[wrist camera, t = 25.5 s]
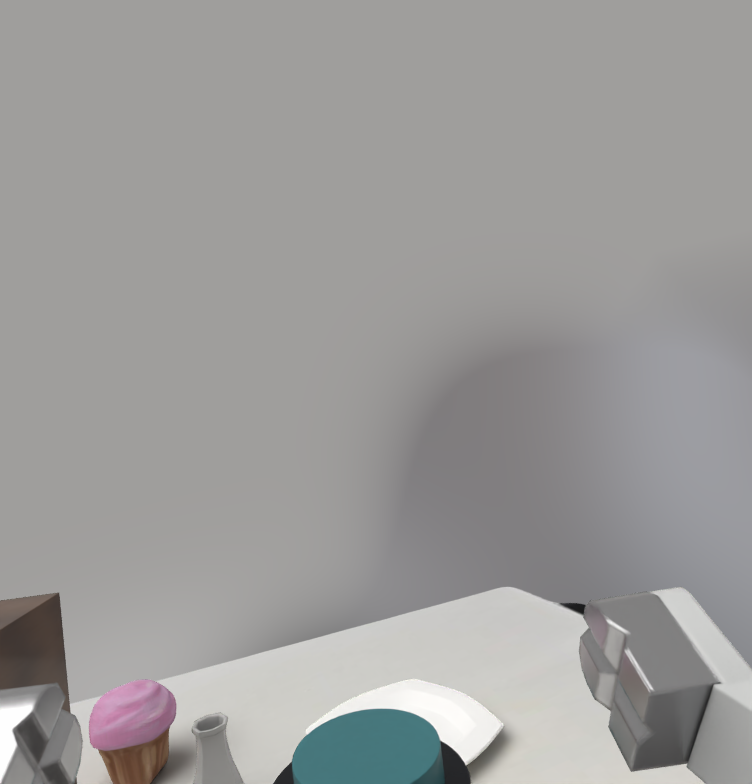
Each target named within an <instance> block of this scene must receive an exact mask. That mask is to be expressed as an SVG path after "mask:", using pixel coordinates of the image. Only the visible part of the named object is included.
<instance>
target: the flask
mask: <svg viewBox="0 0 752 784" xmlns="http://www.w3.org/2000/svg"><path fill="white" fill-rule="evenodd" d="M227 721H228V717H227V716H226V715H224V714H222V713H215V714H210V715H206V716H204V717H202V718H200V719H198V720H196V721H194V724H193V726H192V733H193V734H194V735H195V736H196V742H197V761H196V773H195V778H194V783H193V784H244V782H243V780H242V778H241V776H240V773H239V771H238V769H237V767H236V765H235V763H234V761H233V759H232V756H231V753H230V749H229V746H228V742H227V738H226V730H225V729H226V725H227Z"/></svg>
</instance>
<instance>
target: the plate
mask: <svg viewBox="0 0 752 784" xmlns="http://www.w3.org/2000/svg"><path fill="white" fill-rule="evenodd" d="M367 709H397V710H402V711H406V712H410V713H413V714H416V715H418V716H420V717H422V718H424V719H425V720H427V721H428V722H429V723H430V724H431V725H432V726H433V727H434V728H435V729H436V731H437V733H438V735H439V738H440V740H441V741H442V742H444V743H446V744H447V745H448V746H450V747H451V748H453V749H454V750H455V751H456V752H457V753H458V754H459V756H460V757H461V758H462V760H463V761H464V763H465V765H468V764H469V763H471V762H472V761H473V760H475V759H476V758H477V757H478V756H479V755H480V754H481V753H482V752H483V751H484V750H485V749H486V748H487V747H488V746H489V745H490V743H491V742H492V741H493V740H494V739H495V738H496V736H497V735H498V734H499V732H500V731H501V730H502V729H503V727H504V724H503V723H502V722H501V721H499V720H498V719H497V718H496V717H495V716H494V715H493V714H492V713H491V712H490V711H488V710H487V709H486V708H485V707H484V706H482V705H481V704H480V703H478V702H477V701H476V700H474V699H473V698H471V697H469V696H468V695H466V694H464V693H462V692H459V691H457V690H454V689H451V688H448V687H445V686H441V685H438V684H434V683H430V682H426V681H421V680H417V679H408V680H404V681H401V682H397V683H393V684H390V685H386V686H383V687H380V688H377V689H374V690H371V691H368V692H365V693H363V694H360V695H358V696H355V697H353V698H351V699H349V700H348V701H346V702H344V703H342V704H340V705H339V706H337V707H336V708H334V709H333V710H331V711H329V712H328V713H327V714H325V715H324V716H323V717H321V718H320V719H318V720H317V721H316V722H314V723H313V724H312V725H311V726H309V727H308V728H307V729H306V730H305V731H306V734H307V735H308V734H309V733H310V732H311V731H312V730H314V729H315V728H316V727H318V726H320V725H321V724H323V723H325V722H327V721H329V720H331V719H333V718H336V717H338V716H341V715H344V714H347V713H351V712H355V711H360V710H367Z"/></svg>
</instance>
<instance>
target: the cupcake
mask: <svg viewBox="0 0 752 784" xmlns="http://www.w3.org/2000/svg"><path fill="white" fill-rule="evenodd" d="M175 716H176V701H175V698H174V696H173V694H172V693H171V692H170V691H169V690H168V689H167V688H165V687H164V686H163V685H161V684H159V683H157V682H155V681H152V680H147V679H145V680H135V681H132V682H129V683H127V684H125V685H122V686H119V687H116V688H114V689H112V690H110V691H108V692H107V693H106V694H104V695H103V696H102V697H101V698H100V699H99V700H98V701H97V703H96V704H95V706H94V707H93V711H92V713H91V716H90V721H89V735H90V743H91V744H92V746H93V747H94V748H97V749H98V750H99V753H100V755H101V756H102V758H103V760H104V763H105V765H106V768H107V770H108V773H109V775H110V778H111V780H112V782H113V784H150V783H151V782H152V781H153V779H154V778H155V777H156V775H157V774H158V773H159V771H160V770H161V769H162V767H163V766H164V765H165V764H166V762H167V759H168V755H169V728H170V725H171V724H172V723H173V721H174V719H175Z"/></svg>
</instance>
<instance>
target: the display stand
mask: <svg viewBox="0 0 752 784" xmlns="http://www.w3.org/2000/svg"><path fill="white" fill-rule="evenodd" d="M440 743H441V751H442V760H443V768H444V776H445V784H471V779H470V775H469V771H468V769H467V767H466V765H465V763H464V761H463V760H462V758H461V757H460V756H459V754H458V753H457V752H456V751H455V750H454V749H453V748H451V747H450V746H448V745H447V744H446V743H444V742H442V741H441V740H440ZM273 784H294V781H293V772H292V762H291V763H290V764H289V765H288V766H287V767H286V768H285V769H284V770H283V771H282V772H281V774H280V775H279V776H278V777H277V779H276V780H275V782H274V783H273Z"/></svg>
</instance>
